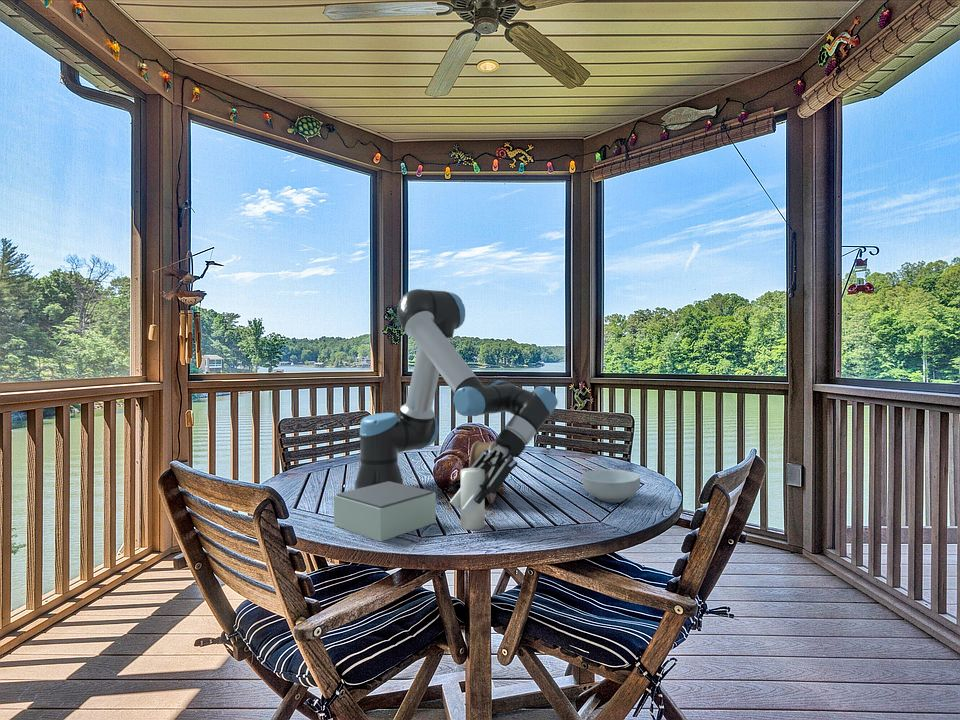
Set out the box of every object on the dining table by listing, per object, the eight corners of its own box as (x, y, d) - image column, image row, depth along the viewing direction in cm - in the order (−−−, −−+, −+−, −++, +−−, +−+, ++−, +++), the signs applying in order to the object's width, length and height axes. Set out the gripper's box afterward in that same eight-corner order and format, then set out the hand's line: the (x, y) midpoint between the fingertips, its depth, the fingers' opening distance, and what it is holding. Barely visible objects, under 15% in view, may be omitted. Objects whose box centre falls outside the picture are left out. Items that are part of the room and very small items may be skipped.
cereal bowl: (593, 488, 174) (593, 466, 174) (646, 496, 165) (646, 472, 165) (573, 501, 159) (573, 477, 159) (630, 510, 151) (631, 484, 151)
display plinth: (334, 525, 138) (333, 493, 138) (389, 509, 152) (389, 480, 152) (380, 541, 127) (380, 507, 126) (435, 522, 140) (435, 491, 140)
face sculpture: (492, 508, 153) (492, 448, 153) (468, 507, 154) (467, 447, 154) (500, 489, 173) (500, 437, 172) (479, 488, 174) (479, 436, 174)
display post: (455, 526, 137) (455, 470, 137) (471, 520, 142) (471, 466, 142) (473, 531, 133) (473, 474, 133) (489, 525, 138) (489, 470, 138)
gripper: (545, 452, 137) (488, 528, 129) (504, 441, 153) (451, 508, 145) (527, 432, 134) (468, 509, 126) (487, 423, 150) (433, 490, 143)
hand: (459, 508), depth 136 cm, fingers closed on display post, 6 cm apart
